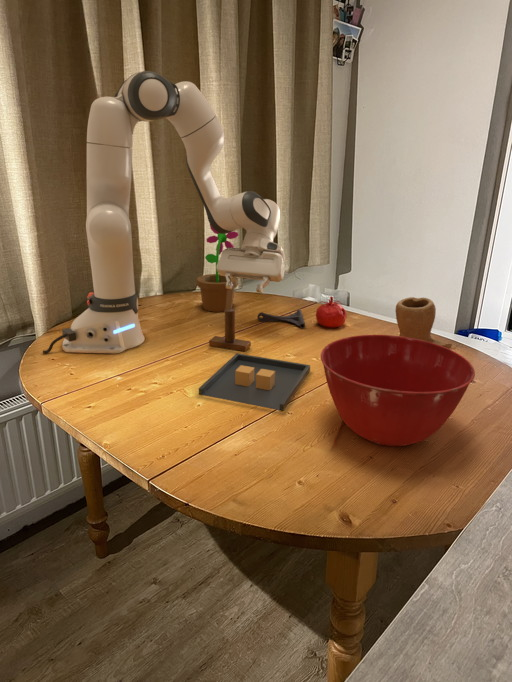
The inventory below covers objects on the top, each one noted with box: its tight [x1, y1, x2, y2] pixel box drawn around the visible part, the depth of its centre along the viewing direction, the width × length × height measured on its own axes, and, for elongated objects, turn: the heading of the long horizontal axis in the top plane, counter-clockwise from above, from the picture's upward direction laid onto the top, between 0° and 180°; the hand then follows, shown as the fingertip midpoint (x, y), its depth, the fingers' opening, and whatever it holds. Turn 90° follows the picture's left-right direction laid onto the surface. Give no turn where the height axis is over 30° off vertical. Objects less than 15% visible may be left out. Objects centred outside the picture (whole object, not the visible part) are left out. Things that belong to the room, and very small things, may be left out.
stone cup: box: [395, 296, 453, 350], centre depth 138 cm, size 15×12×15 cm
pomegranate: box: [315, 295, 348, 329], centre depth 158 cm, size 10×10×9 cm
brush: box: [208, 308, 252, 353], centre depth 138 cm, size 11×4×12 cm, turn 69°
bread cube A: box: [256, 369, 275, 391], centre depth 116 cm, size 4×4×4 cm
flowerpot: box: [196, 224, 239, 313], centre depth 170 cm, size 14×14×30 cm
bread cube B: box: [235, 365, 254, 387], centre depth 118 cm, size 4×4×4 cm
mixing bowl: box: [320, 334, 476, 447], centre depth 99 cm, size 28×28×15 cm
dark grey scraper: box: [257, 309, 306, 329], centre depth 162 cm, size 14×15×3 cm
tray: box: [198, 352, 311, 412], centre depth 119 cm, size 22×20×2 cm
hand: (243, 289), depth 143 cm, fingers open, 8 cm apart
